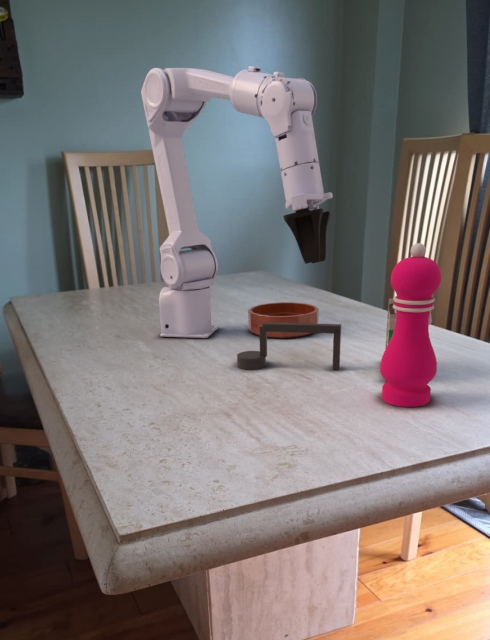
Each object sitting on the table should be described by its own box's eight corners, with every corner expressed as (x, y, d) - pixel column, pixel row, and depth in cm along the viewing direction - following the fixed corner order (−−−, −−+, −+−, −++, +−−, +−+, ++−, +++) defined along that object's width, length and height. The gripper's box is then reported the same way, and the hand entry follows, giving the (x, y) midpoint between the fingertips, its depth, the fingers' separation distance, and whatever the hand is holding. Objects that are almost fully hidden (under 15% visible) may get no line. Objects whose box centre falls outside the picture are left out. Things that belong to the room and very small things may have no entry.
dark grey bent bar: (234, 369, 98) (232, 325, 96) (241, 360, 102) (239, 319, 100) (337, 373, 95) (339, 328, 92) (340, 364, 99) (342, 321, 96)
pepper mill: (371, 392, 86) (380, 241, 78) (422, 389, 87) (436, 239, 79) (387, 410, 80) (399, 247, 72) (441, 407, 80) (460, 245, 72)
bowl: (242, 338, 116) (241, 315, 114) (257, 322, 128) (256, 301, 126) (312, 340, 113) (313, 317, 111) (321, 324, 125) (322, 302, 123)
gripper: (320, 153, 84) (337, 256, 87) (332, 167, 97) (345, 256, 100) (270, 166, 86) (288, 267, 89) (288, 179, 99) (303, 265, 103)
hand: (315, 262), depth 95 cm, fingers open, 7 cm apart
